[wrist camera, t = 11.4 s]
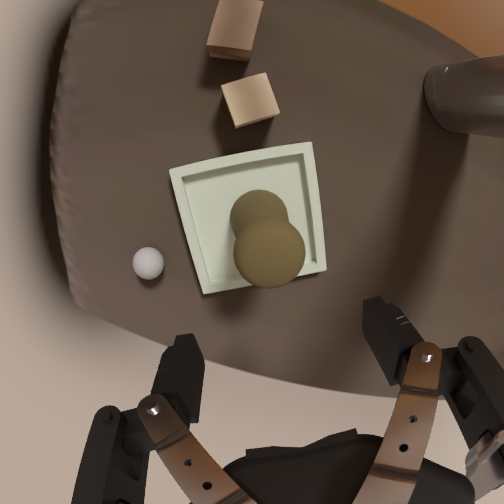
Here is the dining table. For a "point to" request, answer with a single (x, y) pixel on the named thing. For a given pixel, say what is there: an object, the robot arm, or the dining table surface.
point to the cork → (265, 240)
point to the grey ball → (148, 263)
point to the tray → (229, 190)
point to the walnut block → (234, 29)
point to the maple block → (250, 100)
